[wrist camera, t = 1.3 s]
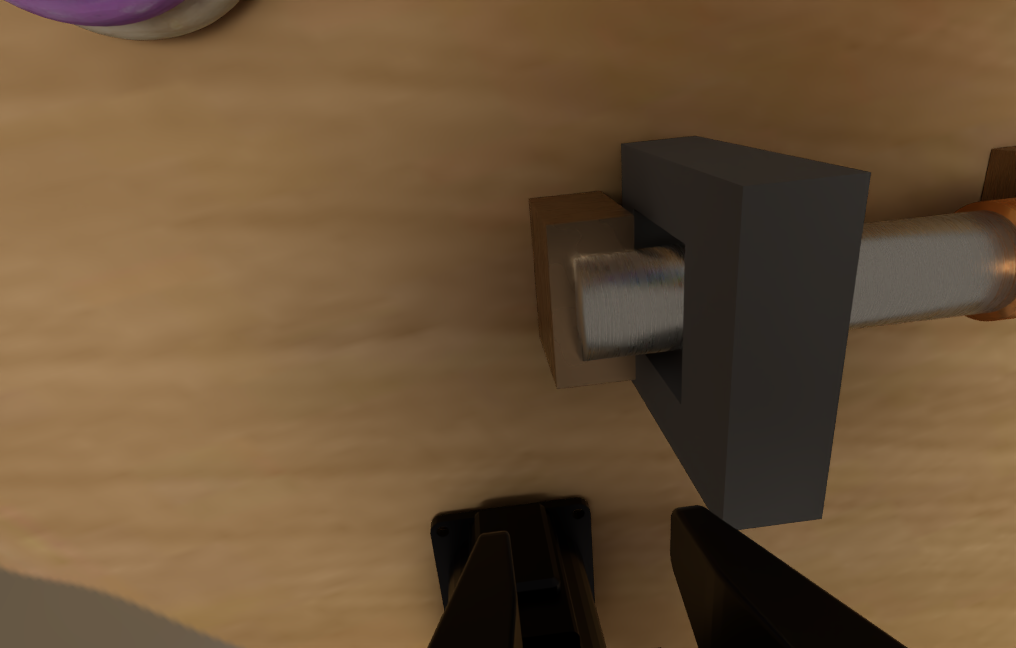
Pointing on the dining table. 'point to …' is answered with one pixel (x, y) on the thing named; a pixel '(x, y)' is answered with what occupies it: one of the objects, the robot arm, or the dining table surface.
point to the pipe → (660, 270)
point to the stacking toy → (132, 15)
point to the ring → (750, 317)
